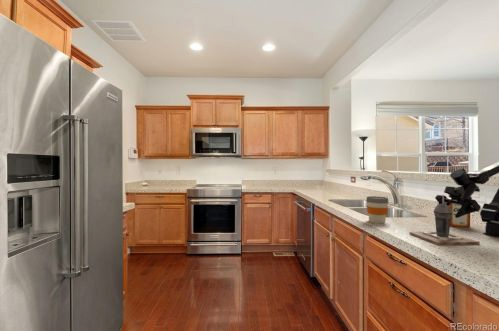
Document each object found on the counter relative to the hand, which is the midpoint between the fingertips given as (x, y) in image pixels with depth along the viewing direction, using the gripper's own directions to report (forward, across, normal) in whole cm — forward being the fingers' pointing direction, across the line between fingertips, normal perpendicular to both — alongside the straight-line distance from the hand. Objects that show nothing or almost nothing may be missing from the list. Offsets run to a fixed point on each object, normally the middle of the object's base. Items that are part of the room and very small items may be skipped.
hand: (446, 215), depth 124 cm
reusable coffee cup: (+14, -39, +3) cm, 41 cm away
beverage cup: (+9, 0, +6) cm, 10 cm away
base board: (+10, 0, +6) cm, 12 cm away
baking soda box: (-14, -21, +31) cm, 40 cm away
